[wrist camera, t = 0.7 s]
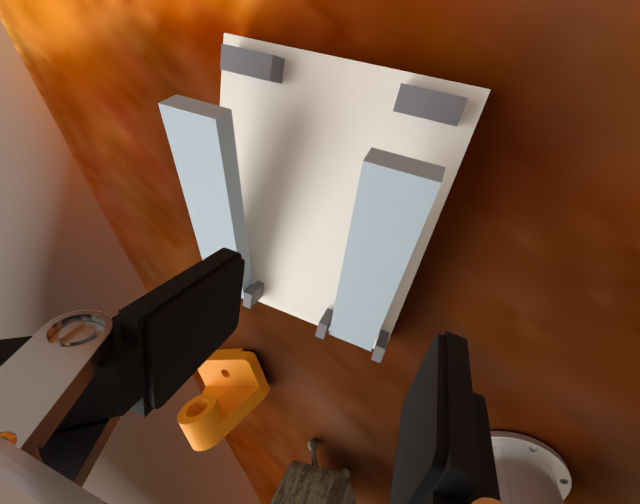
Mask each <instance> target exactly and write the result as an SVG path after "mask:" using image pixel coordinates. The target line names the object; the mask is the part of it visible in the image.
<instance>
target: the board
mask: <svg viewBox="0 0 640 504" xmlns="http://www.w3.org/2000/svg"><path fill="white" fill-rule="evenodd" d="M220 69H221V70H222V75H221V93H220V106H221V107H225V108H228V109H231V110H232V118H233V126H234V134H235V143H236V151H237V159H238V167H239V176H240V184H241V192H242V200H243V208H244V217H245V225H246V233H247V241H248V250H249V258H250V266H251V274H252V283H253V285H252V286H251V287H249V288H248V289H247V290H246V291H245V292H244V299H243V306H245V307H247V308H249V309H250V308H251V307H252V306H253V305H254V304H255V303H256V302H257V301H259V302H261V303H264V304H266V305H269V306H271V307H274V308H276V309H279V310H281V311H283V312H286V313H288V314H291V315H293V316H296V317H298V318H301V319H303V320H305V321H308V322H310V323H313V324H315V325H318V328H317V331H316V335H315V336H316V337H319V338H321V339H324V337H325V336H326V334H327V332H328V330H330V325H331V320H332V315H333V310H334V305H335V300H336V295H337V290H338V285H339V280H340V275H341V270H342V264H343V259H344V254H345V249H346V244H347V239H348V234H349V229H350V224H351V219H352V214H353V209H354V204H355V198H356V193H357V188H358V183H359V178H360V173H361V168H362V163H363V160H364V158H365V157H366V155H367V154H368V152H369V150H370V149H371V147H373V148H377V149H380V150H384V151H388V152H391V153H395V154H399V155H402V156H406V157H410V158H414V159H417V160H421V161H425V162H428V163H432V164H436V165H439V166H443V167H446V169H445V172H444V176H443V180H442V184H441V186H440V188H439V191H438V193H437V196H436V198H435V200H434V203H433V205H432V207H431V210H430V212H429V214H428V217H427V219H426V222H425V224H424V226H423V229H422V231H421V233H420V236H419V238H418V241H417V243H416V245H415V248H414V250H413V252H412V255H411V257H410V260H409V262H408V264H407V267H406V269H405V271H404V274H403V276H402V279H401V281H400V283H399V286H398V288H397V290H396V293H395V295H394V298H393V300H392V302H391V305H390V307H389V309H388V312H387V314H386V317H385V319H384V321H383V324H382V326H381V328H380V331H379V333H378V336H377V338H376V340H375V343H374V345H373V347H372V348H374V352H373V355H372V358H371V360H374V361H376V362H378V363H380V362H381V360H382V357H383V355H384V352H385V350H386V346H387V343H388V340H389V338H390V336H391V333H392V331H393V328H394V326H395V323H396V321H397V318H398V316H399V313H400V311H401V309H402V306H403V304H404V301H405V299H406V296H407V294H408V291H409V289H410V287H411V284H412V282H413V279H414V277H415V274H416V272H417V269H418V267H419V264H420V262H421V260H422V257H423V255H424V252H425V250H426V247H427V245H428V242H429V240H430V238H431V235H432V233H433V230H434V228H435V225H436V223H437V220H438V218H439V215H440V213H441V211H442V208H443V206H444V203H445V201H446V198H447V196H448V193H449V191H450V189H451V186H452V184H453V181H454V179H455V176H456V174H457V171H458V169H459V166H460V164H461V162H462V159H463V157H464V154H465V152H466V149H467V147H468V144H469V142H470V139H471V137H472V135H473V132H474V130H475V127H476V125H477V122H478V120H479V117H480V115H481V113H482V110H483V108H484V105H485V103H486V100H487V98H488V95H489V93H490V90H491V89H486V88H481V87H477V86H472V85H467V84H463V83H458V82H453V81H448V80H444V79H439V78H434V77H430V76H425V75H420V74H415V73H411V72H406V71H401V70H397V69H392V68H387V67H382V66H378V65H373V64H368V63H364V62H359V61H354V60H350V59H345V58H340V57H335V56H331V55H326V54H321V53H317V52H312V51H307V50H302V49H298V48H293V47H288V46H284V45H279V44H274V43H269V42H265V41H260V40H255V39H251V38H246V37H241V36H236V35H232V34H227V33H224V40H223V44H221V62H220Z"/></svg>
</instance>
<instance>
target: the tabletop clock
mask: <svg viewBox="0 0 640 504" xmlns="http://www.w3.org/2000/svg"><path fill="white" fill-rule="evenodd" d="M317 447H318V443H317V442H316V440H310V441H309V442H308V448H309V450H310V451H312V465H310V464H306V463H302V462H298V461H294V460H293V461H292V463H291V464H290V465H289V467H288V468H287V470H286V472H285V474H284V476H283V478H282V480H281V482H280V484H279V486H278V488H277V490H276V492H275V494H274V497H273V499H272V501H271V504H355V498H354V494H353V489H352V486H351V484H350V483H349V482H348V481H347V479H348V478H349V477H350V471H349V470H348V469H347V468H343V469H342V470H341V472H340V473H339V472H338V471H335V470H331V469H327V468H322V467H319V466H318V463H317V458H316V453H315V450H316V449H317Z"/></svg>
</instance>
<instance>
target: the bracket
mask: <svg viewBox="0 0 640 504" xmlns="http://www.w3.org/2000/svg"><path fill="white" fill-rule="evenodd" d="M198 371H199V373H200V375H201V377H202V379H203V381H204V383H205V385H206V387H205V389H204V391H203V393H202V394H201V395H199V396H197V397H195V398H193V399H192V400H190V401H189V402H188V403H187V404H186V405H184V407H183V408H182V409H181V410H180V412H179V414H178V416H177V420H178V423H179V424H180V426H181V428H182V430H183V432H184V433H185V435H186V437H187V439H188V441H189V443H190V445H191V446H192V448H193V449H194V450H196V451H203V450H207V449H209V448H211V447H213V446H214V445H216V444H217V443H218V442H219V441H221V439H222V438H224V437H225V436H226V435H227V434H228V433H229V432H230V431H231V430H232V429H233V428H234V427H235V426H236V425H237V424H238V423H239V422H240V421H241V420H242V419H243V418H245V417H246V416H247V415H248V414H249V413H250V412H251V411H252V410H253V409H254V408H255V407H256V406H257V405H258V404H259V403H260V402H261V401H262V400H263V399H264V398H265V397H266V395H267V394H268V392H269V390H270V387H269V385H268V383H267V380H266V378H265V376H264V373H263V371H262V369H261V366H260V364H259V362H258V359H257V357H256V355H255V354H254V353H253V352H250V351H244V349H243V348H242V349H219V350H216V351H215V352H214V353H213V354H212V355H211V356H210V357H209V358H208V359H207V360H206V361H205V362H204V363H203V364H202V365H201V366H200V367H199V368H198Z"/></svg>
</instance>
